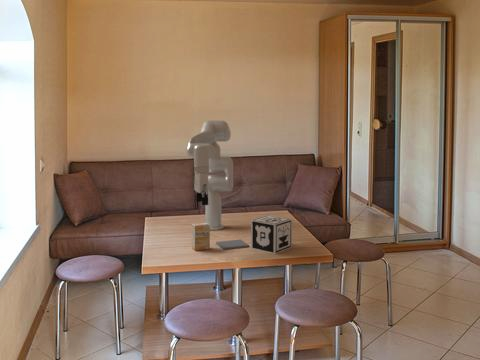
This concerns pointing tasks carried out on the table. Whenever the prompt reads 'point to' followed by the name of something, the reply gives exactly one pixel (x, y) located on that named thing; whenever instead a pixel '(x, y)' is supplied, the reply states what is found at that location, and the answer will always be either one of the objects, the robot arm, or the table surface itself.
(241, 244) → the rubber mat
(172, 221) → the table surface
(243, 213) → the table surface
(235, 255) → the table surface
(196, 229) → the supplement box
